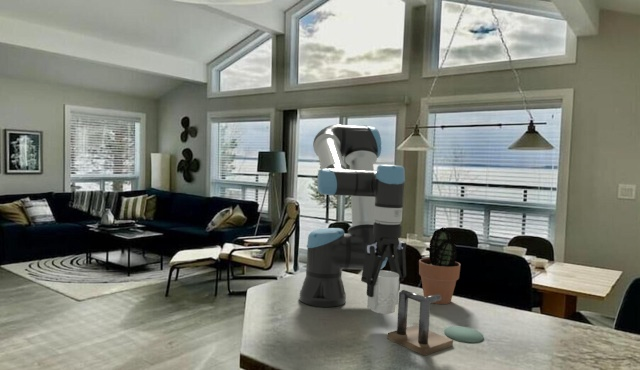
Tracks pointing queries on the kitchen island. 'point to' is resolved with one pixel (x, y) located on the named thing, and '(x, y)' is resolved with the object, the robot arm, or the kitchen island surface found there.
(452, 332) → the end coaster
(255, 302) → the kitchen island surface
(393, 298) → the white cup
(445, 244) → the potted plant
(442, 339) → the brown wooden board
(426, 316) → the bent wire
